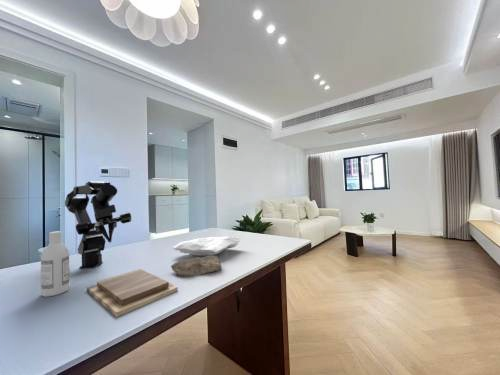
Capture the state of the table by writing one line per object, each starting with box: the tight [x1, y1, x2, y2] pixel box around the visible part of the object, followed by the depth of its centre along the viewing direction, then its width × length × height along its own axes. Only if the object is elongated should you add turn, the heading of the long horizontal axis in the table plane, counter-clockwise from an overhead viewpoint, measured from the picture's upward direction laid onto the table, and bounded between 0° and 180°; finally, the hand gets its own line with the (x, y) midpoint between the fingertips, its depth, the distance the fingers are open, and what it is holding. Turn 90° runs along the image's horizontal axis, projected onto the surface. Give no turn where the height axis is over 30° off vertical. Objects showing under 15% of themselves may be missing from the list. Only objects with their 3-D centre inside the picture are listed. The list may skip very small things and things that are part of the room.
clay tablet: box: [170, 255, 222, 277], centre depth 88 cm, size 14×5×20 cm
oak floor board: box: [86, 282, 178, 318], centre depth 70 cm, size 25×18×1 cm
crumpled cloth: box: [172, 236, 241, 257], centre depth 109 cm, size 24×35×9 cm
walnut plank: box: [96, 268, 170, 306], centre depth 70 cm, size 2×14×20 cm
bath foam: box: [40, 230, 70, 298], centre depth 71 cm, size 7×7×20 cm
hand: (110, 242), depth 85 cm, fingers closed
